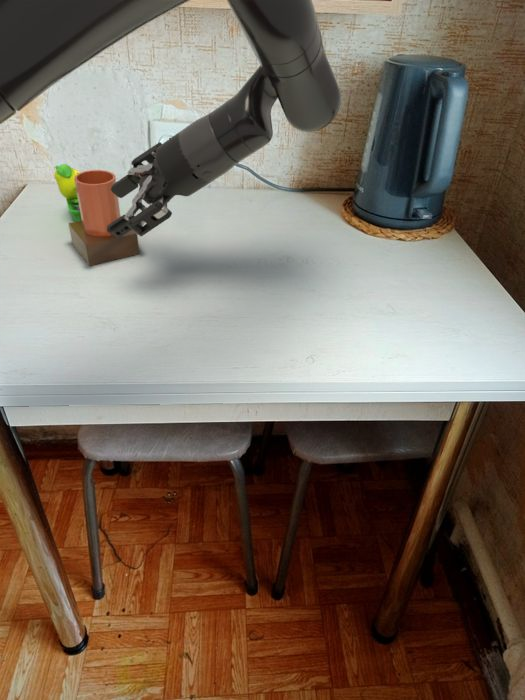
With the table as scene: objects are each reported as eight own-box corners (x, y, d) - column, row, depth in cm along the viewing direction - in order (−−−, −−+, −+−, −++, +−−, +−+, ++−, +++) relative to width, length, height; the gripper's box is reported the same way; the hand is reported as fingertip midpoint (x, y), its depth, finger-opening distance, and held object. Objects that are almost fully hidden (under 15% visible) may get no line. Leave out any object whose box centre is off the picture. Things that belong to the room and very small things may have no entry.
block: (89, 266, 86) (85, 245, 84) (72, 243, 92) (68, 223, 89) (139, 254, 90) (137, 233, 88) (120, 233, 96) (117, 213, 93)
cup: (91, 239, 85) (82, 187, 79) (78, 224, 89) (69, 173, 83) (127, 231, 88) (121, 180, 82) (113, 217, 92) (107, 167, 86)
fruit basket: (116, 231, 96) (108, 172, 89) (67, 237, 93) (54, 176, 86) (107, 206, 104) (98, 150, 97) (61, 211, 101) (49, 153, 94)
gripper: (180, 103, 70) (97, 164, 77) (180, 170, 62) (88, 231, 69) (213, 142, 75) (133, 196, 82) (218, 208, 68) (129, 261, 74)
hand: (113, 212), depth 75 cm, fingers open, 8 cm apart
